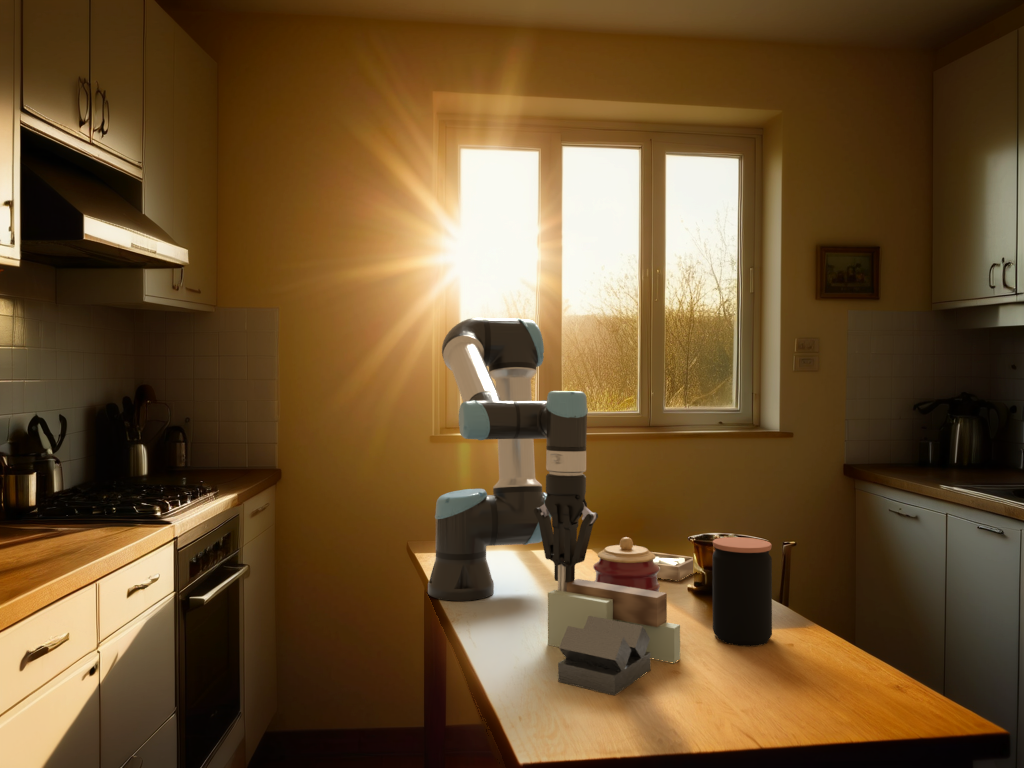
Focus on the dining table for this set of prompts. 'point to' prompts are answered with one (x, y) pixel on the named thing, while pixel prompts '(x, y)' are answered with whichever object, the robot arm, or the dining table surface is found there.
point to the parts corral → (674, 567)
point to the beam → (578, 607)
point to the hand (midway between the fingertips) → (564, 599)
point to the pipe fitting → (669, 561)
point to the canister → (627, 566)
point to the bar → (627, 601)
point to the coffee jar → (742, 591)
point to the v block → (604, 655)
